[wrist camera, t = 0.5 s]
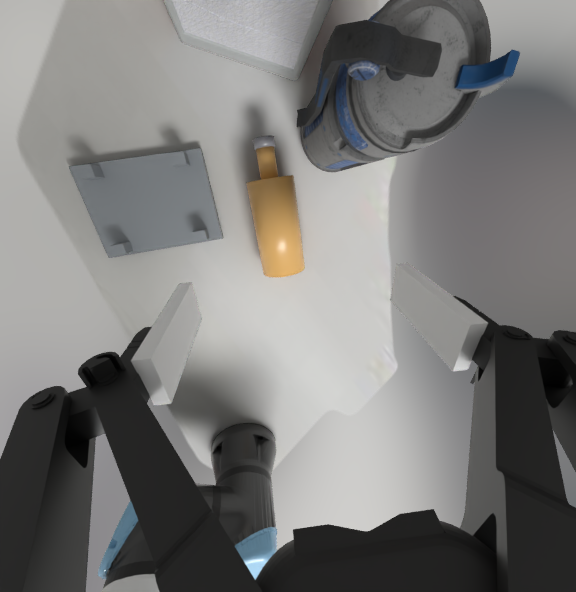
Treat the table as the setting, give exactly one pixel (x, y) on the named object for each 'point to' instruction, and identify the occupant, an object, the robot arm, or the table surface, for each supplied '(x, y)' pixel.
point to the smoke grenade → (400, 81)
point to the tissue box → (252, 30)
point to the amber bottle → (275, 214)
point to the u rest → (149, 201)
